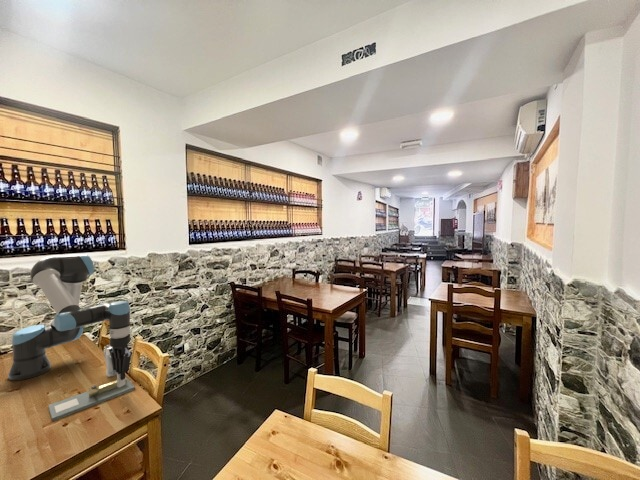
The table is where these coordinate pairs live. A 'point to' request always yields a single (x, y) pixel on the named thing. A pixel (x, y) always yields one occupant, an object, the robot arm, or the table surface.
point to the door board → (85, 401)
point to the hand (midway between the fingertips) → (121, 385)
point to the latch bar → (103, 388)
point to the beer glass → (109, 362)
